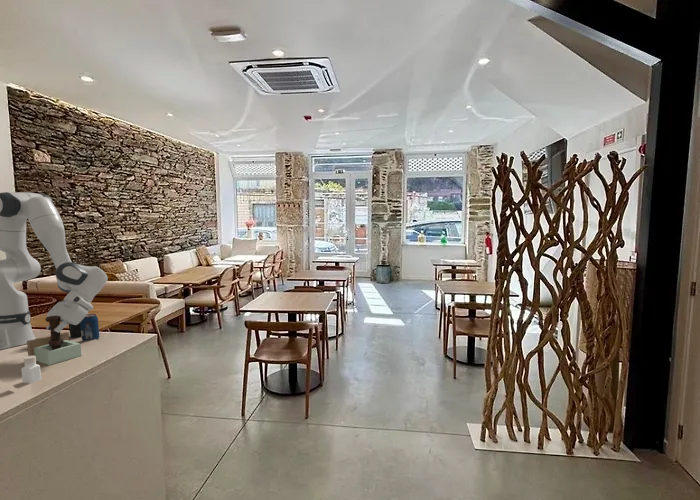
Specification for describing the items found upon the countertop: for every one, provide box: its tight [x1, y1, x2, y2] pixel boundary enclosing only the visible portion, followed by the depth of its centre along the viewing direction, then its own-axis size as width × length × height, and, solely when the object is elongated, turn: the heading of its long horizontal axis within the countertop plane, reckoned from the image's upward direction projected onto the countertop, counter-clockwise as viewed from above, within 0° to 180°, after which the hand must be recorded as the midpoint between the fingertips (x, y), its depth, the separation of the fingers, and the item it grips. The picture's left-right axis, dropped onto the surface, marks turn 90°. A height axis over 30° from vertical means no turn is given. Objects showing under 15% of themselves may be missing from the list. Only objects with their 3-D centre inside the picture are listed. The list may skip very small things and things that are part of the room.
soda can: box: [80, 313, 100, 342], centre depth 187 cm, size 7×7×12 cm
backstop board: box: [26, 331, 70, 357], centre depth 161 cm, size 21×14×9 cm, turn 60°
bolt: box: [45, 315, 63, 350], centre depth 162 cm, size 6×5×15 cm
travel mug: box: [68, 323, 82, 339], centre depth 195 cm, size 8×8×20 cm
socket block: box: [34, 339, 82, 366], centre depth 161 cm, size 12×12×5 cm
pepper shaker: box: [20, 355, 42, 384], centre depth 139 cm, size 4×4×10 cm
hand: (52, 330), depth 161 cm, fingers open, 5 cm apart
